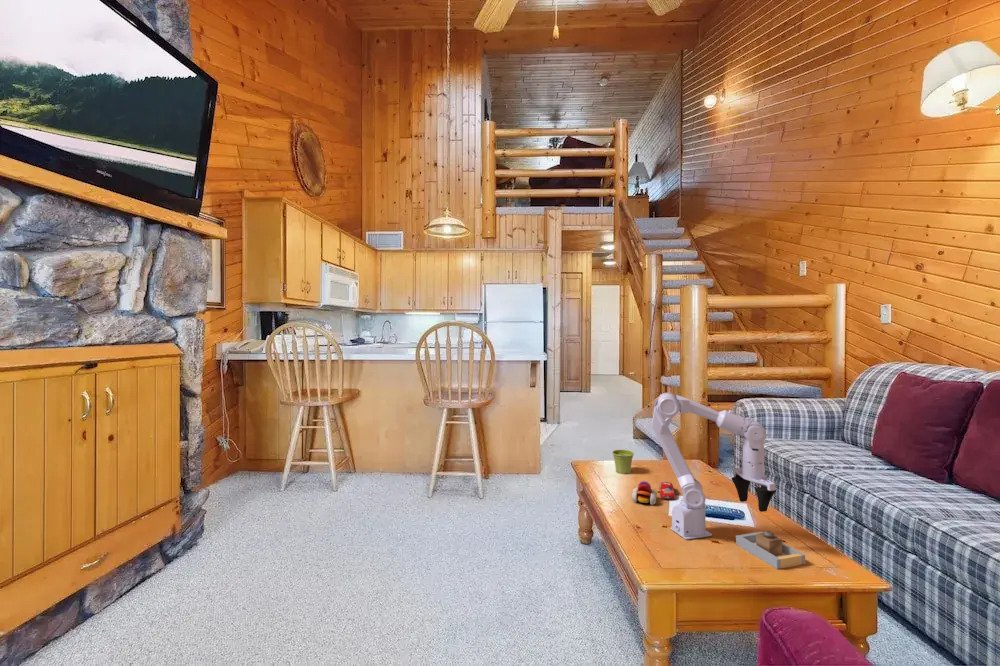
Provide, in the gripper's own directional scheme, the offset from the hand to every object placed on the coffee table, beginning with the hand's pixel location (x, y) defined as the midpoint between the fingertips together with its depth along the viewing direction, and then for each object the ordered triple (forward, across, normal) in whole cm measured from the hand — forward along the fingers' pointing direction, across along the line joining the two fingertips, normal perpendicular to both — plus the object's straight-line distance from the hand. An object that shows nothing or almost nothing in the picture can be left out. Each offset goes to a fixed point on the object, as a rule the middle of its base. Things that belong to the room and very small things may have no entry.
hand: (752, 505), depth 136 cm
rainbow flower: (+11, +35, +15) cm, 40 cm away
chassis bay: (+10, -8, +2) cm, 13 cm away
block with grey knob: (+10, -8, +2) cm, 13 cm away
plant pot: (+11, +67, +6) cm, 68 cm away
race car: (+11, +39, +3) cm, 41 cm away
